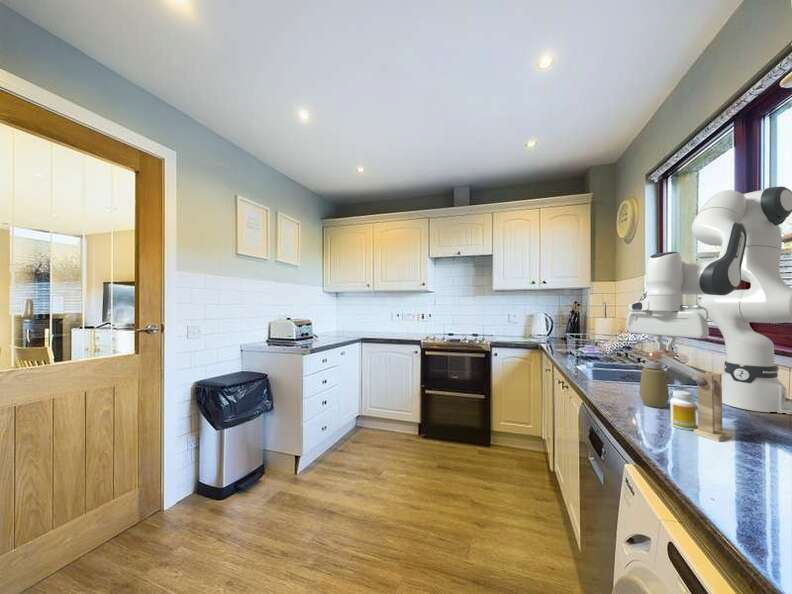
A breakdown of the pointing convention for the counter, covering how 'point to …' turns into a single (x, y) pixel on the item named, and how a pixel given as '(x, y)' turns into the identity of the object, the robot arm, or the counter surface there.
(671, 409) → the supplement bottle
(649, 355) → the lever
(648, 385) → the squeeze bottle
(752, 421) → the counter surface
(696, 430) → the press stand
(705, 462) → the counter surface
